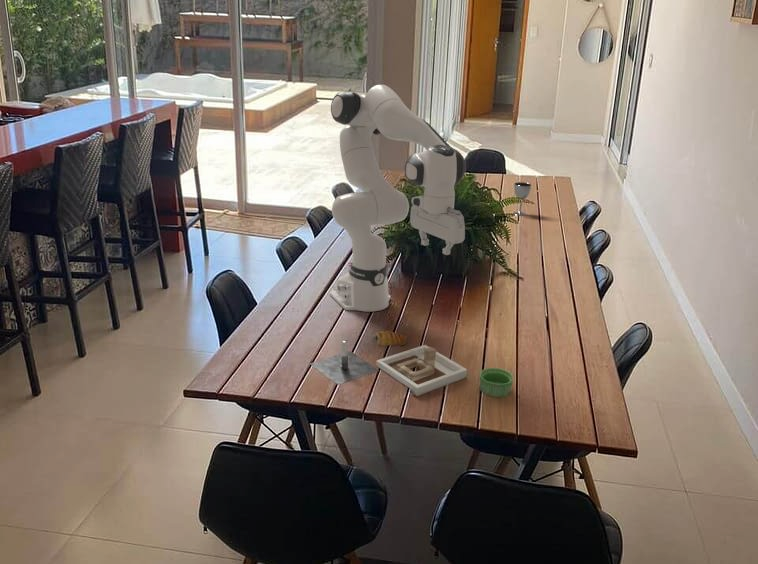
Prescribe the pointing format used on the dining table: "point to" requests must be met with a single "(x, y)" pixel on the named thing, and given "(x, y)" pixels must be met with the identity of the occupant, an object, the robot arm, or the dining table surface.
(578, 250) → the dining table surface
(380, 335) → the pastry
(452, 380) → the tray
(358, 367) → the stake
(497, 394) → the ramekin
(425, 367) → the ring
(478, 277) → the dining table surface
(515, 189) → the wine glass
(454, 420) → the dining table surface
